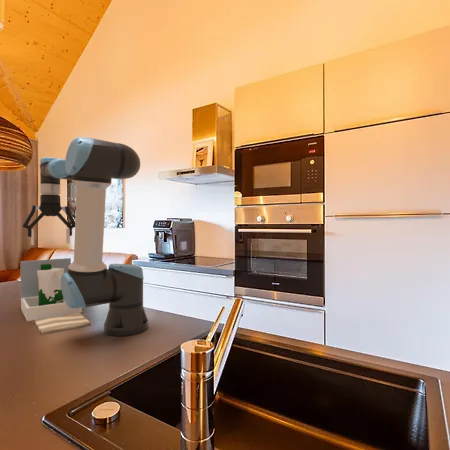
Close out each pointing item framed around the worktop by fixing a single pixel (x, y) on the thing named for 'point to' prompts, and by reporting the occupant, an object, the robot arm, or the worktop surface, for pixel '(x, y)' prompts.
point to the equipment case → (32, 291)
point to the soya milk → (50, 285)
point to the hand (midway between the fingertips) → (50, 244)
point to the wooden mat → (61, 323)
